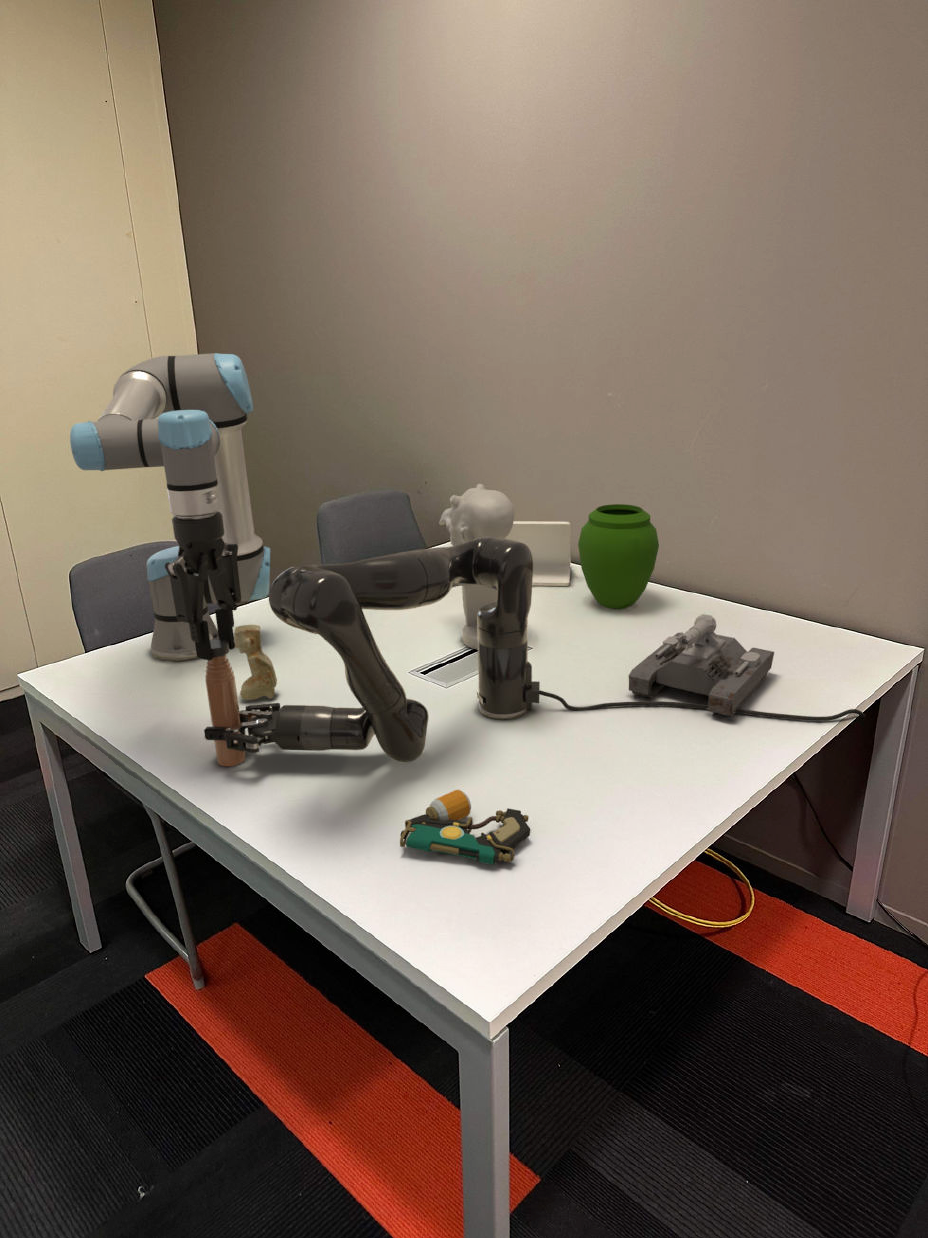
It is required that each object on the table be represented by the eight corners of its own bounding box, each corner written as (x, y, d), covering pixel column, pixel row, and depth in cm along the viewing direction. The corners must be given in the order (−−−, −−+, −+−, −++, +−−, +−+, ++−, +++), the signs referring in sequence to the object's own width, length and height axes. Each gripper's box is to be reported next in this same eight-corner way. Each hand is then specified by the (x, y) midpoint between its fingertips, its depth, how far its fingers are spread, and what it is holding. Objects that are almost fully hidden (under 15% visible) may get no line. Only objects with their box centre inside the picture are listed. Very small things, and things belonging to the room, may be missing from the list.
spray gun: (542, 834, 125) (490, 895, 113) (446, 797, 133) (389, 850, 122) (543, 810, 123) (491, 869, 112) (446, 774, 131) (388, 826, 120)
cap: (213, 659, 137) (212, 650, 137) (197, 653, 140) (196, 645, 139) (234, 651, 140) (233, 642, 140) (219, 645, 143) (218, 637, 142)
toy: (678, 653, 184) (682, 588, 179) (772, 674, 173) (779, 604, 168) (627, 697, 165) (630, 625, 160) (729, 723, 154) (736, 646, 149)
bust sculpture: (484, 611, 212) (481, 471, 200) (536, 643, 192) (537, 489, 180) (426, 624, 205) (419, 479, 193) (474, 658, 185) (470, 499, 173)
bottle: (223, 752, 150) (207, 641, 142) (249, 753, 149) (234, 642, 142) (213, 766, 145) (195, 652, 138) (239, 767, 145) (223, 653, 137)
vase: (599, 587, 227) (601, 497, 218) (668, 600, 216) (673, 505, 208) (562, 608, 212) (564, 513, 204) (634, 623, 202) (639, 523, 193)
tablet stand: (569, 585, 229) (570, 524, 223) (476, 584, 232) (475, 523, 226) (570, 566, 246) (571, 508, 240) (484, 564, 249) (483, 507, 243)
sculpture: (243, 691, 172) (234, 622, 167) (279, 689, 173) (271, 620, 168) (239, 704, 167) (229, 633, 162) (276, 701, 168) (268, 630, 162)
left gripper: (170, 529, 123) (192, 676, 131) (254, 503, 137) (269, 638, 145) (134, 524, 127) (158, 668, 135) (219, 499, 141) (237, 631, 149)
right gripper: (318, 689, 149) (223, 687, 150) (294, 728, 135) (191, 725, 137) (321, 727, 151) (228, 725, 153) (299, 769, 138) (197, 766, 140)
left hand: (216, 652), depth 140 cm, fingers open, 4 cm apart
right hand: (211, 725), depth 145 cm, fingers closed on bottle, 4 cm apart
